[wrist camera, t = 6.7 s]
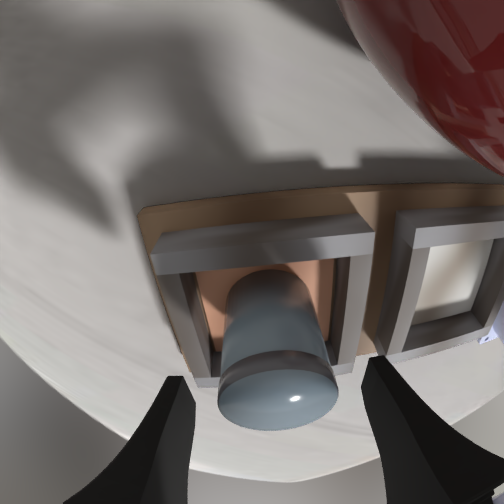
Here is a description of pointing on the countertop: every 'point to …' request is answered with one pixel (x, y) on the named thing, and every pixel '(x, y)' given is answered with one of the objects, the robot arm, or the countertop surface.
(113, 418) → the countertop surface
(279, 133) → the countertop surface
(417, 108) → the round-bottom flask
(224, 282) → the caddy
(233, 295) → the grey plastic cylinder
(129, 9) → the countertop surface
